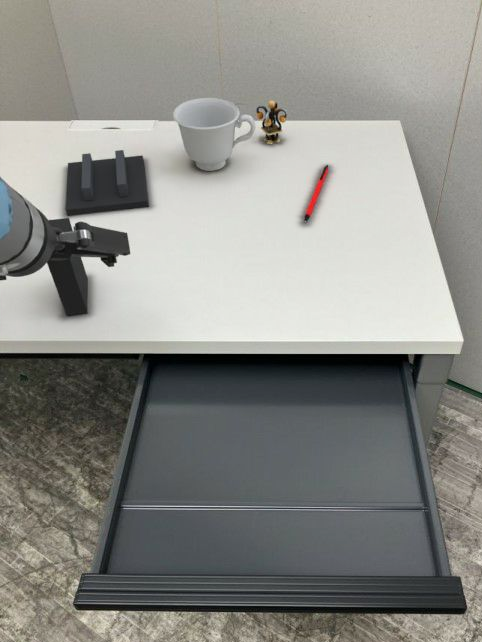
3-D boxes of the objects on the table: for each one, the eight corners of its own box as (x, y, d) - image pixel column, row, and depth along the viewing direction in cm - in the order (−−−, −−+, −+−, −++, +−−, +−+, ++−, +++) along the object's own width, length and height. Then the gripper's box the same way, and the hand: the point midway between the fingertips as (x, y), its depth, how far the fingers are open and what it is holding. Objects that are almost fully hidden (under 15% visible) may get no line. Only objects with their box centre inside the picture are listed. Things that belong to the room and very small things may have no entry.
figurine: (254, 136, 121) (255, 97, 114) (275, 131, 122) (277, 93, 116) (265, 148, 118) (266, 109, 112) (286, 143, 120) (289, 104, 114)
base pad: (67, 215, 102) (61, 196, 100) (69, 168, 113) (64, 150, 110) (148, 206, 104) (145, 187, 101) (143, 161, 115) (140, 142, 112)
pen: (329, 168, 113) (329, 162, 112) (307, 224, 101) (307, 218, 100) (324, 167, 113) (325, 162, 113) (302, 223, 101) (302, 218, 100)
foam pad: (66, 316, 86) (43, 254, 77) (67, 281, 91) (46, 220, 83) (87, 313, 86) (67, 251, 78) (87, 278, 91) (68, 217, 83)
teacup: (251, 183, 109) (249, 131, 102) (172, 177, 111) (165, 125, 103) (260, 151, 117) (259, 100, 110) (187, 146, 118) (181, 95, 111)
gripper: (-131, 290, 54) (-40, 304, 75) (144, 256, 58) (157, 279, 79) (-147, 207, 54) (-51, 245, 75) (132, 178, 57) (148, 222, 78)
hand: (56, 263), depth 77 cm, fingers open, 13 cm apart
